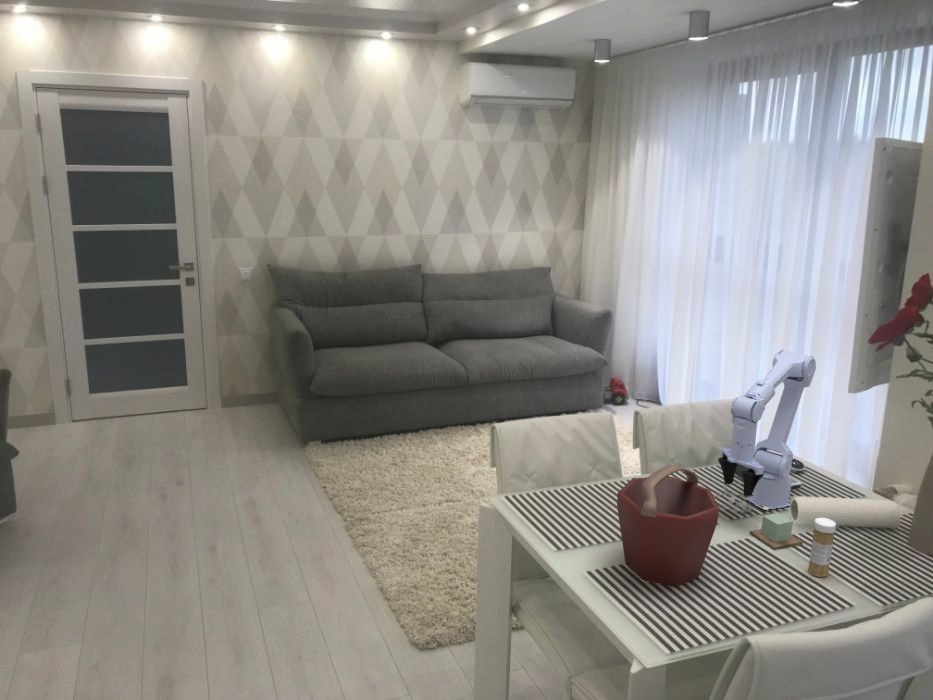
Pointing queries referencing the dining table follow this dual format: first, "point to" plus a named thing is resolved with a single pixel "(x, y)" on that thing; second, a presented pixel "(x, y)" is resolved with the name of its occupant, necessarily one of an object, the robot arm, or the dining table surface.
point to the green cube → (776, 527)
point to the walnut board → (777, 545)
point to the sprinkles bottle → (821, 547)
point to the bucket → (666, 526)
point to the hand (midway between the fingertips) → (738, 489)
